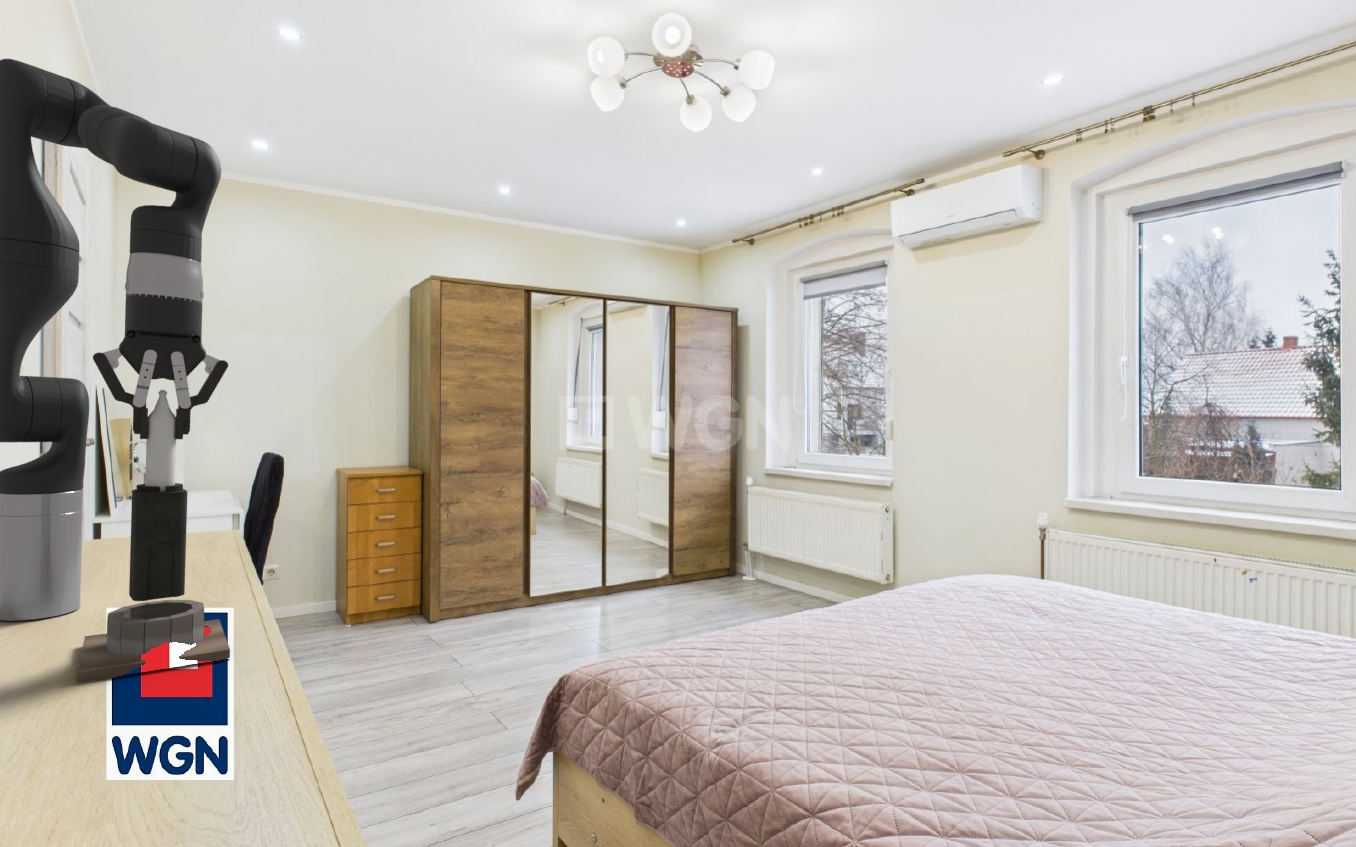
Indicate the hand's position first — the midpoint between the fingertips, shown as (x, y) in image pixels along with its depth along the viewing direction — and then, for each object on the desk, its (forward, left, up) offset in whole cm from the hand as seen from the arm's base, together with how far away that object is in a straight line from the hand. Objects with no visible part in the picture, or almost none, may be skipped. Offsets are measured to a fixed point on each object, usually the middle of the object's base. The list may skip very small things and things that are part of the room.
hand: (161, 438), depth 85 cm
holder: (0, 0, -26) cm, 26 cm away
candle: (0, 0, -19) cm, 19 cm away
